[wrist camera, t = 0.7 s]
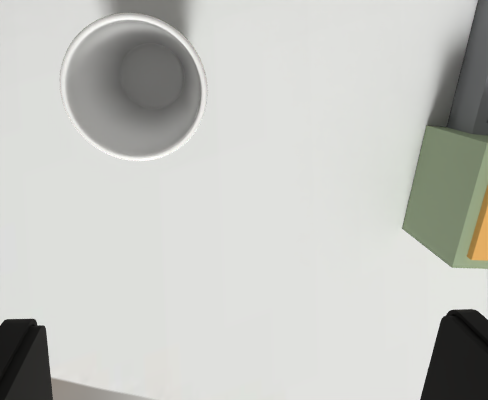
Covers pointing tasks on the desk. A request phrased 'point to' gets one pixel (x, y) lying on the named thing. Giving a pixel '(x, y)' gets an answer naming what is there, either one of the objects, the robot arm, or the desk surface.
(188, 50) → the drinking glass
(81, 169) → the desk surface
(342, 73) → the desk surface
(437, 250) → the green box with frame
